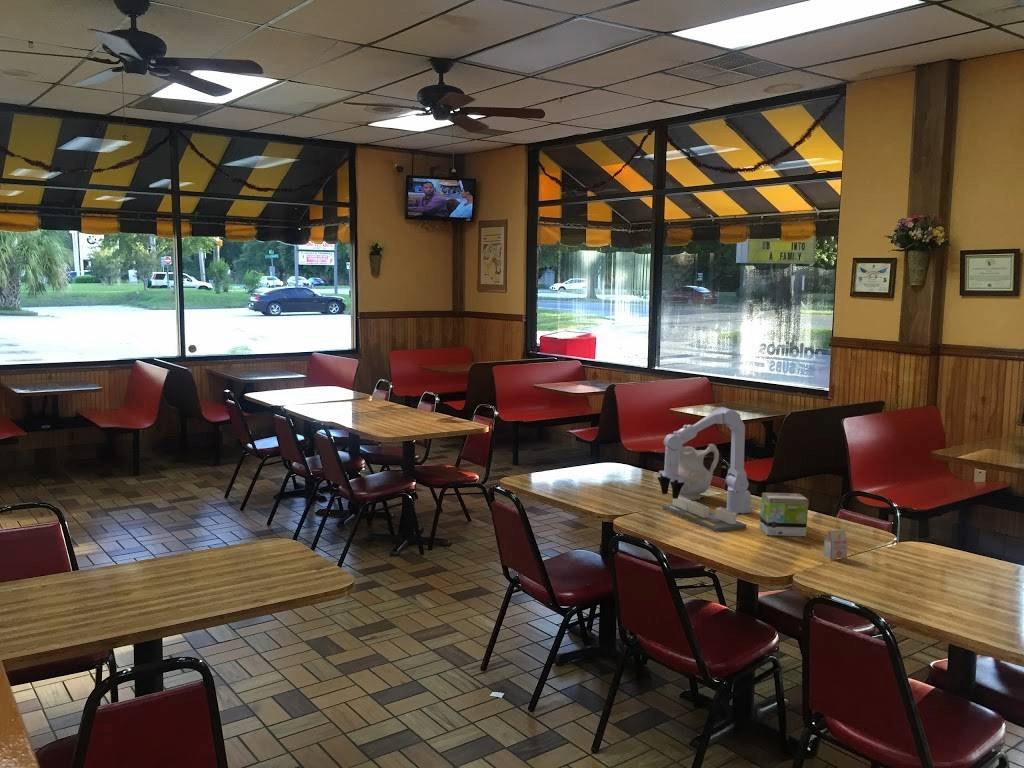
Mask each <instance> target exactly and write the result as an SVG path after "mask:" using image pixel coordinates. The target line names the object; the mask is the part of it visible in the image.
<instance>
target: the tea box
mask: <svg viewBox="0 0 1024 768" xmlns="http://www.w3.org/2000/svg"><path fill="white" fill-rule="evenodd" d="M760 501H761V503H760V511H759V512H760V514H759V530H760V531H761V532H762V533H764V535H765V536H767V535H769V536H782V537H785V536H786V537H801V536H805V537H806V535H807V527H808V513H809V499H808V498H806V497H805V496H804V495H802V494H801V493H795V492H794V493H793V492H792V493H791V492H790V493H789V492H788V493H787V492H762V493H761V500H760Z"/></svg>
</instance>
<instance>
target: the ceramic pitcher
mask: <svg viewBox="0 0 1024 768" xmlns="http://www.w3.org/2000/svg"><path fill="white" fill-rule="evenodd" d="M709 453H713V461H712V462H711V464H710V468H709V469H707V468H706V467H705V465H704V458H705V456H706V455H708V454H709ZM719 458H720V453H719V449H718V448H717V445H716V444H715V443H708V444H707V448H706V449H704V450H703V449H698V450H697V449H696V448H694V447H693V446H684V444H682V446H681V448H680V449H679V469H678V474H679V475H680V476H681V477H683V482H684V485H683V487H682V488H681V490H680V493H679V495H680V496H683V497H685V498H688V499H689V500H691V501H697V499H698V500H701V499H700V498H701V497H702V496H701V494H703V493H706V492H707V491H708V489H709V488H710V486H711V482H712V479H713V475H714V470H715V469H716V468H717V465H718V463H719ZM672 481H675V480H672V479H671V480H670V482H672ZM669 487H670V489H671V490H672V486H671V483H669Z"/></svg>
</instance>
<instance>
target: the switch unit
mask: <svg viewBox="0 0 1024 768" xmlns="http://www.w3.org/2000/svg"><path fill="white" fill-rule="evenodd" d="M664 509H666V510H668V511H670V512H669V513H671V512H672V514H673V513H674V514H673V515H675V514H677V515H676V516H678V515H679V516H678V517H680V516H681V518H682V517H683V518H682V519H685V518H686V519H685V520H687V519H688V520H687V521H689V520H690V522H691V523H694V522H695V523H694V524H696V523H697V524H696V525H698V524H699V526H701V525H702V526H701V527H703V526H704V527H703V528H705V527H706V528H705V529H708V528H709V530H710V529H711V530H710V531H712V530H713V531H712V532H715V533H718V532H717V531H719V532H726V531H725V530H728V531H734V529H737V530H745V529H744V528H746V529H747V524H745V523H743V522H740V521H737V520H736V524H729V523H726V522H724V521H722V520H719V519H717V518H715V511H713V510H711V509H709V517H707V518H703V517H700V516H698V515H695V514H693V513H691V512H689V511H686V510H683V509H681V508H679V507H676V506H674V505H672V504H665V505H663V504H662V510H664ZM666 510H665V511H666ZM668 511H667V512H668Z"/></svg>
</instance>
